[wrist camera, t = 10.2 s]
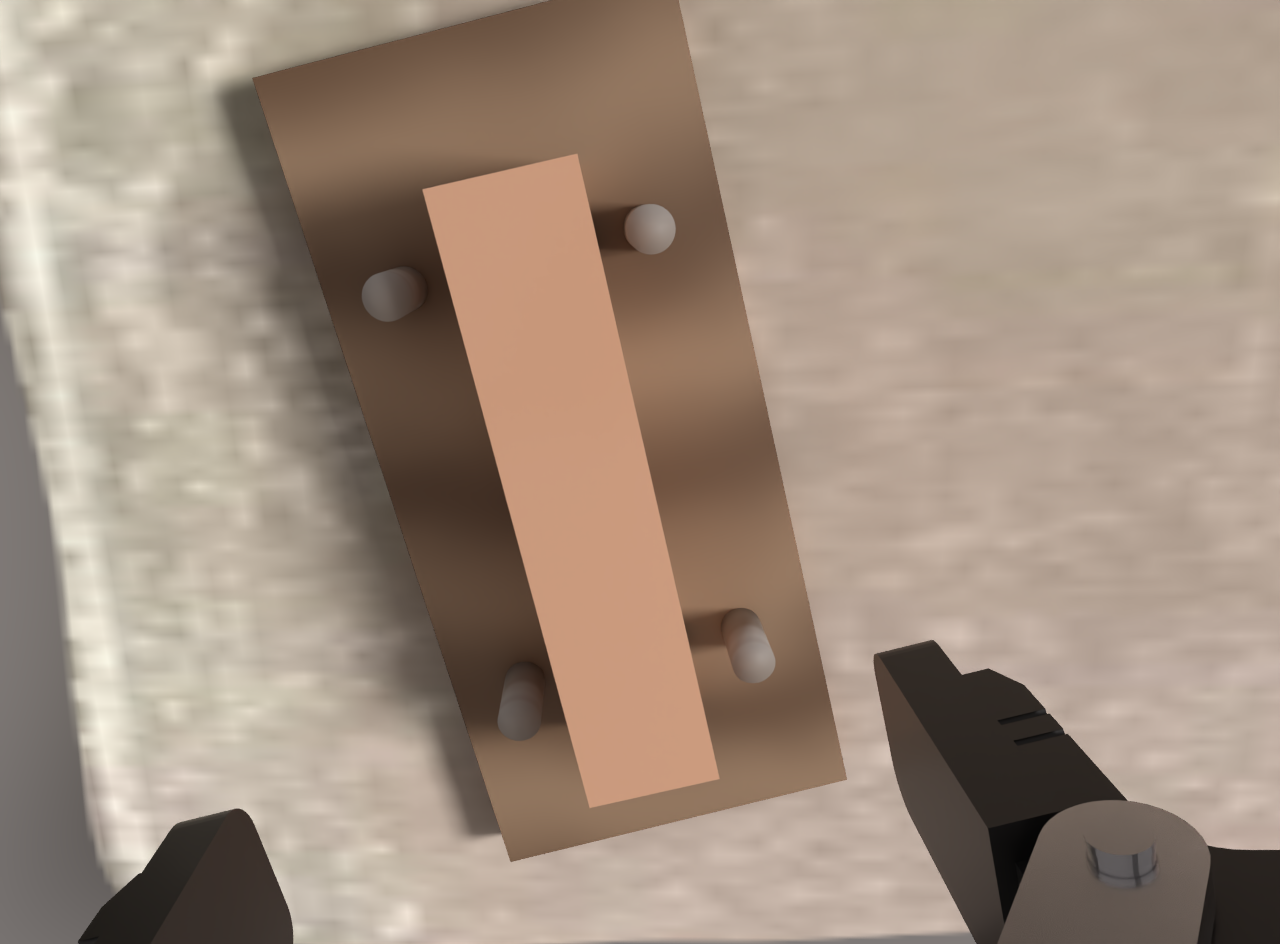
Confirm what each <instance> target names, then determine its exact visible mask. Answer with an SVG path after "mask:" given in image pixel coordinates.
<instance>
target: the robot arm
mask: <svg viewBox="0 0 1280 944" xmlns="http://www.w3.org/2000/svg"><path fill="white" fill-rule="evenodd" d="M874 669H875V675H876V680H877V685H878V691H879V696H880V701H881V706H882V711H883V716H884V721H885V726H886V731H887V736H888V741H889V746H890V751H891V756H892V761H893V766H894V770H895V774H896V778H897V781H898V785H899V788H900V791H901V794H902V797H903V800H904V802H905V805H906V808H907V810H908V812H909V814H910V817H911V819H912V821H913V822H914V824H915V826H916V828H917V830H918V832H919V834H920V836H921V838H922V840H923V842H924V844H925V846H926V847H927V849H928V851H929V853H930V855H931V857H932V859H933V861H934V863H935V865H936V867H937V869H938V871H939V872H940V874H941V876H942V878H943V880H944V882H945V884H946V886H947V888H948V890H949V892H950V894H951V896H952V898H953V899H954V901H955V903H956V905H957V907H958V909H959V911H960V913H961V915H962V917H963V919H964V921H965V923H966V924H967V926H968V928H969V930H970V932H971V934H972V936H973V938H974V940H975V942H976V943H977V944H1280V850H1233V849H1225V848H1217V847H1212V846H1207V844H1206V842H1205V841H1204V839H1203V837H1202V836H1201V835H1200V834H1199V833H1198V832H1197V830H1196V829H1195V828H1193V827H1192V826H1191V825H1190V824H1188V823H1187V822H1186V821H1185V820H1183V819H1181V818H1179V817H1178V816H1176V815H1174V814H1172V813H1170V812H1168V811H1165V810H1163V809H1161V808H1157V807H1154V806H1151V805H1148V804H1143V803H1138V802H1132V801H1127V799H1126V798H1125V797H1124V796H1123V795H1122V794H1121V793H1120V792H1119V791H1118V789H1117V788H1116V787H1115V786H1114V785H1113V784H1112V783H1111V782H1110V780H1109V779H1108V778H1107V777H1106V776H1105V775H1104V774H1103V773H1102V772H1101V770H1100V769H1099V768H1098V767H1097V766H1096V765H1095V764H1094V763H1093V762H1092V760H1091V759H1090V758H1089V757H1088V756H1087V755H1086V754H1085V753H1084V751H1083V750H1082V749H1081V748H1080V747H1079V746H1078V745H1077V744H1076V743H1075V741H1074V740H1073V739H1072V738H1071V737H1070V736H1069V735H1068V734H1065V733H1064V731H1063V728H1062V727H1061V726H1060V725H1059V724H1058V722H1057V721H1056V720H1055V719H1054V718H1053V717H1052V716H1051V715H1050V714H1047V713H1046V710H1045V708H1044V707H1043V706H1042V705H1041V703H1040V702H1039V701H1038V700H1037V699H1036V698H1035V697H1034V696H1033V695H1032V693H1031V692H1030V691H1029V690H1028V689H1027V688H1026V687H1025V686H1024V685H1023V684H1021V683H1019V682H1017V681H1014V680H1012V679H1010V678H1008V677H1006V676H1004V675H1001V674H999V673H997V672H995V671H993V670H991V669H984V670H980V671H976V672H972V673H968V674H964V675H961V673H960V672H959V671H958V670H957V668H956V667H955V666H954V664H953V663H952V662H951V661H950V659H949V658H948V657H947V655H946V654H945V653H944V652H943V650H942V649H941V648H940V647H939V645H938V644H937V643H936V642H935V641H934V640H930V641H926V642H922V643H918V644H914V645H910V646H906V647H902V648H897V649H893V650H889V651H885V652H881V653H877V654H875V655H874ZM78 943H79V944H293V927H292V920H291V916H290V912H289V909H288V906H287V904H286V901H285V899H284V896H283V894H282V891H281V889H280V886H279V884H278V882H277V879H276V877H275V874H274V872H273V869H272V867H271V864H270V862H269V859H268V857H267V855H266V852H265V850H264V847H263V845H262V842H261V840H260V837H259V835H258V833H257V830H256V828H255V825H254V823H253V821H252V819H251V818H250V816H249V815H248V814H247V813H246V812H245V811H243V810H241V809H233V810H228V811H224V812H220V813H216V814H212V815H208V816H204V817H200V818H196V819H192V820H188V821H183V822H180V823H177V824H176V825H175V826H173V828H172V829H171V830H170V832H169V833H168V835H167V836H166V838H165V839H164V841H163V842H162V844H161V845H160V847H159V848H158V850H157V851H156V852H155V854H154V855H153V857H152V858H151V860H150V861H149V863H148V864H147V866H146V867H145V869H144V870H143V872H142V873H140V874H138V875H137V876H136V877H135V878H133V879H132V880H131V881H130V882H129V883H128V884H127V885H126V886H125V887H123V888H122V889H121V890H120V891H119V892H118V893H117V894H116V895H115V896H114V897H112V898H111V899H110V900H109V901H108V902H107V903H106V904H105V905H104V906H103V907H102V908H101V909H100V911H99V912H98V913H97V915H96V916H95V918H94V919H93V920H92V922H91V923H90V925H89V926H88V928H87V929H86V931H85V932H84V934H83V935H82V936H81V938H80V939H79V941H78Z"/></svg>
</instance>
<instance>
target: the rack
mask: <svg viewBox="0 0 1280 944" xmlns="http://www.w3.org/2000/svg"><path fill="white" fill-rule="evenodd" d="M253 82H254V85H255V88H256V91H257V94H258V97H259V100H260V103H261V106H262V109H263V112H264V115H265V118H266V121H267V124H268V127H269V130H270V133H271V136H272V139H273V142H274V145H275V148H276V151H277V154H278V157H279V160H280V163H281V166H282V170H283V173H284V176H285V179H286V182H287V185H288V188H289V191H290V194H291V197H292V200H293V203H294V206H295V209H296V212H297V215H298V218H299V221H300V224H301V227H302V230H303V233H304V236H305V239H306V242H307V245H308V248H309V251H310V254H311V257H312V261H313V264H314V267H315V270H316V273H317V276H318V279H319V282H320V285H321V288H322V291H323V294H324V297H325V300H326V303H327V306H328V309H329V312H330V315H331V318H332V321H333V324H334V327H335V330H336V333H337V336H338V339H339V342H340V345H341V349H342V352H343V355H344V358H345V361H346V364H347V367H348V370H349V373H350V376H351V379H352V382H353V385H354V388H355V391H356V394H357V397H358V400H359V403H360V406H361V409H362V412H363V415H364V418H365V421H366V424H367V427H368V430H369V433H370V437H371V440H372V443H373V446H374V449H375V452H376V455H377V458H378V461H379V464H380V467H381V470H382V473H383V476H384V479H385V482H386V485H387V488H388V491H389V494H390V497H391V500H392V503H393V506H394V509H395V512H396V515H397V518H398V521H399V525H400V528H401V531H402V534H403V537H404V540H405V543H406V546H407V549H408V552H409V555H410V558H411V561H412V564H413V567H414V570H415V573H416V576H417V579H418V582H419V585H420V588H421V591H422V594H423V597H424V600H425V603H426V606H427V609H428V612H429V616H430V619H431V622H432V625H433V628H434V631H435V634H436V637H437V640H438V643H439V646H440V649H441V652H442V655H443V658H444V661H445V664H446V667H447V670H448V673H449V676H450V679H451V682H452V685H453V688H454V691H455V694H456V697H457V700H458V704H459V707H460V710H461V713H462V716H463V719H464V722H465V725H466V728H467V731H468V734H469V737H470V740H471V743H472V746H473V749H474V752H475V755H476V758H477V761H478V764H479V767H480V770H481V773H482V776H483V779H484V782H485V785H486V788H487V792H488V795H489V798H490V801H491V804H492V807H493V810H494V813H495V816H496V819H497V822H498V825H499V828H500V831H501V834H502V837H503V840H504V843H505V846H506V849H507V852H508V855H509V858H510V861H511V862H512V861H516V860H520V859H525V858H529V857H533V856H537V855H541V854H545V853H549V852H553V851H557V850H561V849H565V848H569V847H574V846H578V845H582V844H586V843H590V842H594V841H598V840H602V839H606V838H610V837H614V836H618V835H623V834H627V833H631V832H635V831H639V830H643V829H647V828H651V827H655V826H659V825H663V824H668V823H672V822H676V821H680V820H684V819H688V818H692V817H696V816H700V815H704V814H708V813H712V812H717V811H721V810H725V809H729V808H733V807H737V806H741V805H745V804H749V803H753V802H757V801H761V800H766V799H770V798H774V797H778V796H782V795H786V794H790V793H794V792H798V791H802V790H806V789H810V788H815V787H819V786H823V785H827V784H831V783H835V782H839V781H843V780H847V777H846V773H845V768H844V763H843V759H842V754H841V749H840V745H839V740H838V736H837V731H836V726H835V722H834V717H833V712H832V708H831V703H830V699H829V694H828V689H827V685H826V680H825V675H824V671H823V666H822V662H821V657H820V652H819V648H818V643H817V638H816V634H815V629H814V625H813V620H812V615H811V611H810V606H809V601H808V597H807V592H806V588H805V583H804V578H803V574H802V569H801V564H800V560H799V555H798V551H797V546H796V541H795V537H794V532H793V528H792V523H791V518H790V514H789V509H788V504H787V500H786V495H785V491H784V486H783V481H782V477H781V472H780V467H779V463H778V458H777V454H776V449H775V444H774V440H773V435H772V430H771V426H770V421H769V417H768V412H767V407H766V403H765V398H764V393H763V389H762V384H761V380H760V375H759V370H758V366H757V361H756V356H755V352H754V347H753V343H752V338H751V333H750V329H749V324H748V319H747V315H746V310H745V306H744V301H743V296H742V292H741V287H740V283H739V278H738V273H737V269H736V264H735V259H734V255H733V250H732V246H731V241H730V236H729V232H728V227H727V222H726V218H725V213H724V209H723V204H722V199H721V195H720V190H719V185H718V181H717V176H716V172H715V167H714V162H713V158H712V153H711V148H710V144H709V139H708V135H707V130H706V125H705V121H704V116H703V111H702V107H701V102H700V98H699V93H698V88H697V84H696V79H695V74H694V70H693V65H692V61H691V56H690V51H689V47H688V42H687V38H686V33H685V28H684V24H683V19H682V14H681V10H680V5H679V1H678V0H551V1H547V2H543V3H539V4H535V5H531V6H528V7H524V8H520V9H516V10H512V11H508V12H504V13H501V14H497V15H493V16H489V17H485V18H481V19H478V20H474V21H470V22H466V23H462V24H458V25H454V26H451V27H447V28H443V29H439V30H435V31H431V32H428V33H424V34H420V35H416V36H412V37H408V38H405V39H401V40H397V41H393V42H389V43H385V44H381V45H378V46H374V47H370V48H366V49H362V50H358V51H355V52H351V53H347V54H343V55H339V56H335V57H332V58H328V59H324V60H320V61H316V62H312V63H308V64H305V65H301V66H297V67H293V68H289V69H285V70H282V71H278V72H274V73H270V74H266V75H262V76H259V77H255V78H253ZM573 154H578V158H579V162H580V166H581V171H582V175H583V180H584V184H585V188H586V193H587V197H588V202H589V206H590V210H591V215H592V219H593V224H594V228H595V232H596V237H597V241H598V246H599V250H600V254H601V259H602V263H603V268H604V272H605V276H606V281H607V285H608V290H609V294H610V298H611V303H612V307H613V311H614V316H615V320H616V325H617V329H618V333H619V338H620V342H621V347H622V351H623V355H624V360H625V364H626V369H627V373H628V377H629V382H630V386H631V391H632V395H633V399H634V404H635V408H636V413H637V417H638V421H639V426H640V430H641V434H642V439H643V443H644V448H645V452H646V456H647V461H648V465H649V470H650V474H651V478H652V483H653V487H654V492H655V496H656V500H657V505H658V509H659V514H660V518H661V522H662V527H663V531H664V536H665V540H666V544H667V549H668V553H669V557H670V562H671V566H672V571H673V575H674V579H675V584H676V588H677V593H678V597H679V601H680V606H681V610H682V615H683V619H684V623H685V628H686V632H687V637H688V641H689V645H690V650H691V654H692V659H693V663H694V667H695V672H696V676H697V681H698V685H699V689H700V694H701V698H702V703H703V707H704V711H705V716H706V720H707V725H708V729H709V734H710V738H711V743H712V747H713V751H714V756H715V760H716V765H717V769H718V774H719V778H720V779H718V780H713V781H709V782H704V783H700V784H695V785H691V786H686V787H682V788H677V789H673V790H668V791H664V792H659V793H655V794H650V795H646V796H642V797H637V798H633V799H628V800H624V801H619V802H615V803H610V804H606V805H601V806H597V807H592V808H590V807H589V804H588V800H587V796H586V793H585V789H584V785H583V782H582V778H581V774H580V771H579V767H578V763H577V759H576V756H575V752H574V748H573V745H572V741H571V737H570V734H569V730H568V726H567V722H566V719H565V715H564V711H563V708H562V704H561V700H560V697H559V693H558V689H557V685H556V682H555V678H554V674H553V671H552V667H551V663H550V660H549V656H548V652H547V648H546V645H545V641H544V637H543V634H542V630H541V626H540V623H539V619H538V615H537V612H536V608H535V604H534V600H533V597H532V593H531V589H530V586H529V582H528V578H527V575H526V571H525V567H524V563H523V560H522V556H521V552H520V549H519V545H518V541H517V538H516V534H515V530H514V526H513V523H512V519H511V515H510V512H509V508H508V504H507V501H506V497H505V493H504V489H503V486H502V482H501V478H500V475H499V471H498V467H497V464H496V460H495V456H494V453H493V449H492V445H491V441H490V438H489V434H488V430H487V427H486V423H485V419H484V416H483V412H482V408H481V404H480V401H479V397H478V393H477V390H476V386H475V382H474V379H473V375H472V371H471V367H470V364H469V360H468V356H467V353H466V349H465V345H464V342H463V338H462V334H461V330H460V327H459V323H458V319H457V316H456V312H455V308H454V305H453V301H452V297H451V293H450V290H449V286H448V282H447V279H446V275H445V271H444V268H443V264H442V260H441V257H440V253H439V249H438V245H437V242H436V238H435V234H434V231H433V227H432V223H431V220H430V216H429V212H428V208H427V205H426V201H425V197H424V194H423V190H422V189H426V188H431V187H435V186H439V185H444V184H448V183H452V182H457V181H461V180H465V179H470V178H474V177H478V176H482V175H487V174H491V173H495V172H500V171H504V170H508V169H513V168H517V167H521V166H526V165H530V164H534V163H539V162H543V161H547V160H552V159H556V158H560V157H565V156H569V155H573Z"/></svg>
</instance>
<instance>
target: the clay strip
mask: <svg viewBox="0 0 1280 944" xmlns="http://www.w3.org/2000/svg"><path fill="white" fill-rule="evenodd" d="M422 190H423V194H424V197H425V201H426V205H427V208H428V212H429V216H430V220H431V223H432V227H433V231H434V234H435V238H436V242H437V245H438V249H439V253H440V257H441V260H442V264H443V268H444V271H445V275H446V279H447V282H448V286H449V290H450V293H451V297H452V301H453V305H454V308H455V312H456V316H457V319H458V323H459V327H460V330H461V334H462V338H463V342H464V345H465V349H466V353H467V356H468V360H469V364H470V367H471V371H472V375H473V379H474V382H475V386H476V390H477V393H478V397H479V401H480V404H481V408H482V412H483V416H484V419H485V423H486V427H487V430H488V434H489V438H490V441H491V445H492V449H493V453H494V456H495V460H496V464H497V467H498V471H499V475H500V478H501V482H502V486H503V489H504V493H505V497H506V501H507V504H508V508H509V512H510V515H511V519H512V523H513V526H514V530H515V534H516V538H517V541H518V545H519V549H520V552H521V556H522V560H523V563H524V567H525V571H526V575H527V578H528V582H529V586H530V589H531V593H532V597H533V600H534V604H535V608H536V612H537V615H538V619H539V623H540V626H541V630H542V634H543V637H544V641H545V645H546V648H547V652H548V656H549V660H550V663H551V667H552V671H553V674H554V678H555V682H556V685H557V689H558V693H559V697H560V700H561V704H562V708H563V711H564V715H565V719H566V722H567V726H568V730H569V734H570V737H571V741H572V745H573V748H574V752H575V756H576V759H577V763H578V767H579V771H580V774H581V778H582V782H583V785H584V789H585V793H586V796H587V800H588V804H589V807H590V808H592V807H597V806H601V805H606V804H610V803H615V802H619V801H624V800H628V799H633V798H637V797H642V796H646V795H650V794H655V793H659V792H664V791H668V790H673V789H677V788H682V787H686V786H691V785H695V784H700V783H704V782H709V781H713V780H718V779H720V778H719V774H718V769H717V765H716V760H715V756H714V751H713V747H712V743H711V738H710V734H709V729H708V725H707V720H706V716H705V711H704V707H703V703H702V698H701V694H700V689H699V685H698V681H697V676H696V672H695V667H694V663H693V659H692V654H691V650H690V645H689V641H688V637H687V632H686V628H685V623H684V619H683V615H682V610H681V606H680V601H679V597H678V593H677V588H676V584H675V579H674V575H673V571H672V566H671V562H670V557H669V553H668V549H667V544H666V540H665V536H664V531H663V527H662V522H661V518H660V514H659V509H658V505H657V500H656V496H655V492H654V487H653V483H652V478H651V474H650V470H649V465H648V461H647V456H646V452H645V448H644V443H643V439H642V434H641V430H640V426H639V421H638V417H637V413H636V408H635V404H634V399H633V395H632V391H631V386H630V382H629V377H628V373H627V369H626V364H625V360H624V355H623V351H622V347H621V342H620V338H619V333H618V329H617V325H616V320H615V316H614V311H613V307H612V303H611V298H610V294H609V290H608V285H607V281H606V276H605V272H604V268H603V263H602V259H601V254H600V250H599V246H598V241H597V237H596V232H595V228H594V224H593V219H592V215H591V210H590V206H589V202H588V197H587V193H586V188H585V184H584V180H583V175H582V171H581V166H580V162H579V158H578V154H573V155H569V156H565V157H560V158H556V159H552V160H547V161H543V162H539V163H534V164H530V165H526V166H521V167H517V168H513V169H508V170H504V171H500V172H495V173H491V174H487V175H482V176H478V177H474V178H470V179H465V180H461V181H457V182H452V183H448V184H444V185H439V186H435V187H431V188H426V189H422Z"/></svg>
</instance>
